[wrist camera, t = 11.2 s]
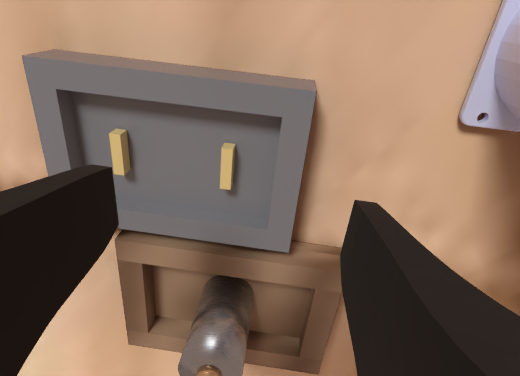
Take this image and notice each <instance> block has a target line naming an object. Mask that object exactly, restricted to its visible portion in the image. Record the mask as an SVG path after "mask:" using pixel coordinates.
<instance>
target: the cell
mask: <svg viewBox="0 0 520 376" xmlns="http://www.w3.org/2000/svg"><path fill="white" fill-rule="evenodd" d="M253 301H254V292H253V289H252V287H251V286H250V285H249V284H248V283H247V282H246V281H245V280H244V279H242V278H237V277H230V276H223V275H217V276H214V277H212V278H211V279H209V280H208V281H207V282H206V284H205V286H204V289H203V292H202V295H201V298H200V301H199V304H198V307H197V311H196V314H195V317H194V320H193V323H192V326H191V329H190V332H189V335H188V338H187V341H186V344H185V347H184V350H183V353H182V356H181V359H180V362H179V365H178V371H179V374H180V376H242V374H243V367H244V361H245V354H246V347H247V341H248V334H249V327H250V321H251V314H252V307H253Z"/></svg>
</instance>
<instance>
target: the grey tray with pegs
mask: <svg viewBox="0 0 520 376" xmlns="http://www.w3.org/2000/svg"><path fill="white" fill-rule="evenodd" d="M22 59H23V64H24V68H25V73H26V77H27V82H28V86H29V91H30V95H31V100H32V104H33V108H34V113H35V117H36V122H37V126H38V131H39V135H40V140H41V144H42V149H43V153H44V158H45V162H46V167H47V171H48V175H49V176H52V175H55V174H58V173H61V172H65V171H68V170H71V169H75V168H78V167H82V166H87V165H92V164H93V165H100V166H107V167H112V171H113V179H114V187H115V195H116V204H117V212H118V220H119V225H118V227H117V228H119V229H126V230H133V231H140V232H147V233H154V234H161V235H168V236H175V237H182V238H189V239H196V240H203V241H209V242H216V243H223V244H230V245H237V246H244V247H251V248H258V249H265V250H272V251H279V252H286V253H289V248H290V242H291V236H292V230H293V225H294V219H295V213H296V207H297V201H298V196H299V190H300V184H301V178H302V172H303V167H304V161H305V155H306V149H307V143H308V138H309V132H310V126H311V120H312V114H313V109H314V103H315V97H316V85H315V81H313V80H305V79H296V78H288V77H280V76H271V75H263V74H255V73H246V72H238V71H229V70H221V69H213V68H204V67H196V66H188V65H179V64H171V63H163V62H154V61H146V60H137V59H129V58H121V57H112V56H104V55H96V54H87V53H79V52H71V51H62V50H54V49H53V50H48V51H43V52H38V53H32V54H27V55H22Z"/></svg>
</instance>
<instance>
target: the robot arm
mask: <svg viewBox="0 0 520 376" xmlns="http://www.w3.org/2000/svg"><path fill="white" fill-rule="evenodd" d="M481 113H485V116H484V118H483V119H481V120H478V121H477V117H478V116H479V114H481ZM459 119H460V121H461V122H462V123H463V124H465V125H467V126H474V127H482V128H490V129H498V130H506V131H514V132H520V0H503V1H502V4H501V7H500V9H499V12H498V14H497V17H496V20H495V22H494V25H493V27H492V30H491V33H490V35H489V38H488V41H487V43H486V46H485V48H484V51H483V54H482V56H481V59H480V61H479V64H478V67H477V69H476V72H475V75H474V77H473V80H472V82H471V85H470V88H469V90H468V93H467V96H466V98H465V101H464V103H463V106H462V109H461V111H460V114H459ZM118 225H119V220H118V212H117V204H116V195H115V187H114V179H113V171H112V167H107V166H100V165H93V164H92V165H87V166H82V167H78V168H75V169H71V170H68V171H65V172H61V173H58V174H55V175H52V176H49V177H46V178H43V179H40V180H36V181H33V182H30V183H27V184H24V185H21V186H18V187H15V188H11V189H8V190H4V191H1V192H0V376H17V374H18V373H19V371H20V369H21V368H22V366H23V364H24V362H25V361H26V359H27V357H28V356H29V354H30V353H31V351H32V349H33V348H34V346H35V345H36V343H37V341H38V340H39V338H40V337H41V335H42V333H43V332H44V330H45V329H46V327H47V325H48V324H49V323H50V321H51V320H52V318H53V317H54V316H55V314H56V313H57V311H58V310H59V309H60V307H61V306H62V305H63V304H64V302H65V301H66V300H67V298H68V297H69V296H70V295H71V293H72V292H73V291H74V289H75V288H76V287H77V286H78V284H79V283H80V282H81V280H82V279H83V278H84V277H85V275H86V274H87V273H88V271H89V270H90V269H91V268H92V266H93V265H94V264H95V262H96V261H97V260H98V258H99V257H100V256H101V254H102V253H103V252H104V250H105V248H106V247H107V245H108V243H109V242H110V240H111V238H112V236H113V234H114V232H115V231H116V229H117V227H118ZM340 268H341V286H342V292H343V297H344V303H345V308H346V313H347V319H348V324H349V329H350V334H351V340H352V345H353V350H354V355H355V362H356V369H357V376H520V316H518V315H517V314H515V313H514V312H512V311H510V310H509V309H507V308H506V307H504V306H502V305H501V304H499V303H498V302H496V301H495V300H493V299H492V298H490V297H489V296H487V295H486V294H485V293H483V292H482V291H480V290H479V289H477V288H476V287H475V286H473V285H472V284H470V283H469V282H468V281H466V280H465V279H463V278H462V277H461V276H459V275H458V274H457V273H455V272H454V271H453V270H452V269H450V268H449V267H448V266H447V265H446V264H444V263H443V262H442V261H441V260H439V259H438V258H437V257H436V256H435V255H433V254H432V253H431V252H430V251H429V250H428V249H426V248H425V247H424V246H423V245H422V244H421V243H420V242H418V241H417V240H416V239H415V238H414V237H413V236H412V235H411V234H410V233H409V232H408V231H407V230H405V229H404V228H403V227H402V226H401V225H400V224H399V223H398V222H397V221H396V220H395V219H394V218H393V217H392V216H391V215H390V214H389V213H387V212H386V211H385V210H384V209H383V208H382V207H381V206H380V205H378V204H377V203H374V202H366V201H359V200H355V201H354V205H353V209H352V212H351V216H350V220H349V224H348V227H347V231H346V235H345V239H344V242H343V246H342V250H341V254H340Z"/></svg>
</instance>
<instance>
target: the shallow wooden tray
mask: <svg viewBox="0 0 520 376" xmlns="http://www.w3.org/2000/svg"><path fill="white" fill-rule="evenodd" d="M115 247H116V254H117V261H118V269H119V276H120V284H121V291H122V299H123V306H124V314H125V321H126V329H127V336H128V344H129V345H136V346H142V347H148V348H154V349H161V350H167V351H173V352H179V353H183V350H184V347H185V344H186V341H187V338H188V335H189V332H190V329H191V326H192V323H193V320H194V317H195V314H196V311H197V307H198V304H199V301H200V298H201V295H202V292H203V289H204V286H205V284H206V282H207V281H208V280H209V279H211V278H212V277H214V276H217V275H223V276H230V277H237V278H242V279H244V280H245V281H246V282H247V283H248V284H249V285H250V286H251V287H252V289H253V292H254V301H253V307H252V314H251V321H250V327H249V334H248V341H247V347H246V354H245V361H244V363H248V364H255V365H261V366H267V367H273V368H280V369H286V370H292V371H298V372H305V373H311V374H317V375H318V373H319V369H320V366H321V362H322V359H323V355H324V352H325V348H326V345H327V341H328V338H329V334H330V331H331V327H332V324H333V320H334V317H335V313H336V310H337V306H338V303H339V299H340V296H341V292H342V286H341V268H340V254H341V250H342V248H338V247H331V246H324V245H317V244H310V243H303V242H296V241H291V242H290V248H289V253H286V252H279V251H272V250H265V249H258V248H251V247H244V246H237V245H230V244H223V243H216V242H209V241H203V240H196V239H189V238H182V237H175V236H168V235H161V234H154V233H147V232H140V231H133V230H126V229H123V230H122V231H121V232H120V233H119V235H118V236H117V237H116V238H115Z"/></svg>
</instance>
